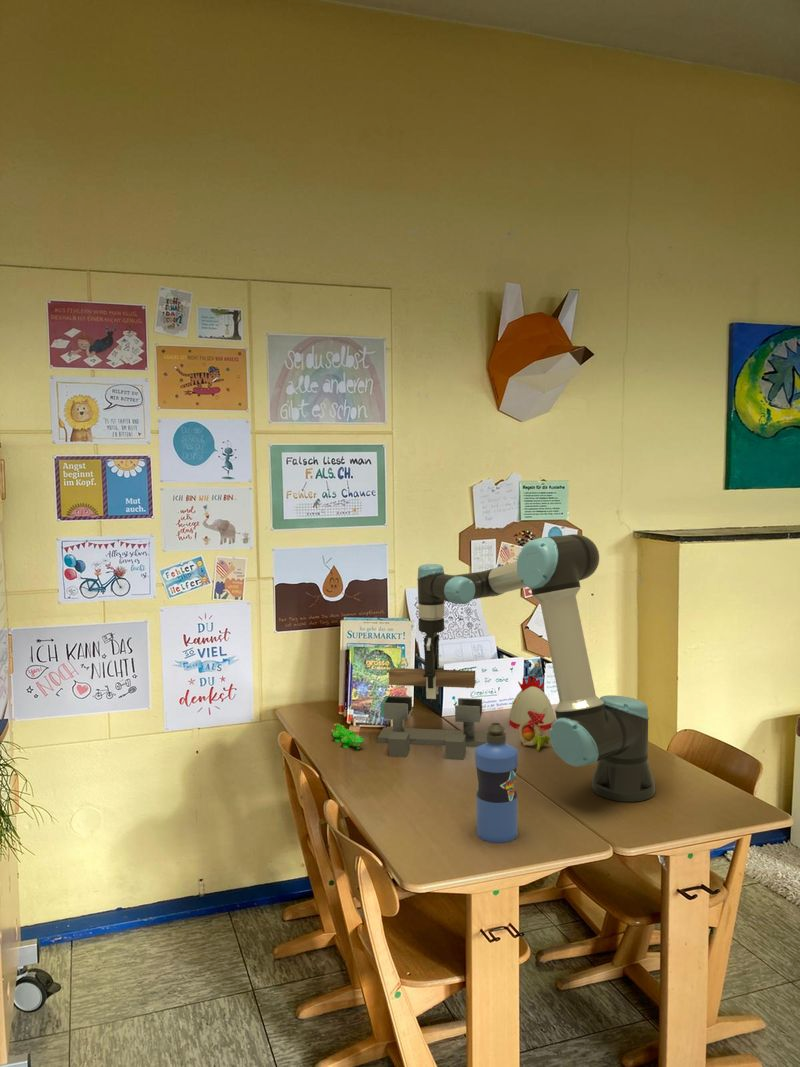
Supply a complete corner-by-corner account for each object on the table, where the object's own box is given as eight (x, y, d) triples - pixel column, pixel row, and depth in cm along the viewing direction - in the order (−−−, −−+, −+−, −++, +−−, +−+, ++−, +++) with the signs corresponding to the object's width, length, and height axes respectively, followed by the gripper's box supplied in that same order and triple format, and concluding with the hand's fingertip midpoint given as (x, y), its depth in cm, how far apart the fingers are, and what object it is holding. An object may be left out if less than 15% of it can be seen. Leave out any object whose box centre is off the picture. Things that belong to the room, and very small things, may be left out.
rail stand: (486, 747, 238) (486, 707, 237) (377, 742, 244) (376, 704, 243) (489, 736, 247) (488, 698, 246) (383, 732, 253) (383, 695, 252)
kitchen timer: (503, 718, 264) (503, 672, 262) (545, 715, 266) (544, 669, 265) (517, 732, 250) (517, 684, 248) (561, 729, 252) (561, 680, 251)
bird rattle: (520, 756, 236) (546, 749, 231) (506, 718, 238) (532, 711, 233) (531, 750, 241) (557, 743, 236) (517, 713, 243) (542, 705, 238)
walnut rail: (474, 688, 240) (473, 674, 240) (389, 684, 245) (388, 671, 244) (475, 684, 244) (475, 670, 243) (391, 681, 249) (391, 667, 248)
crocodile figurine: (350, 754, 236) (350, 739, 235) (324, 736, 251) (324, 722, 251) (371, 750, 239) (371, 735, 238) (344, 732, 255) (344, 718, 254)
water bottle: (468, 836, 183) (466, 726, 181) (488, 820, 191) (486, 714, 189) (506, 847, 178) (505, 733, 176) (525, 830, 186) (524, 721, 184)
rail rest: (463, 759, 229) (463, 742, 229) (388, 756, 233) (388, 738, 233) (465, 751, 235) (465, 734, 234) (392, 748, 239) (392, 731, 238)
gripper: (423, 611, 251) (424, 687, 254) (413, 623, 235) (414, 704, 237) (448, 611, 250) (449, 687, 252) (439, 624, 233) (441, 705, 236)
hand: (432, 695), depth 245 cm, fingers closed on walnut rail, 4 cm apart
